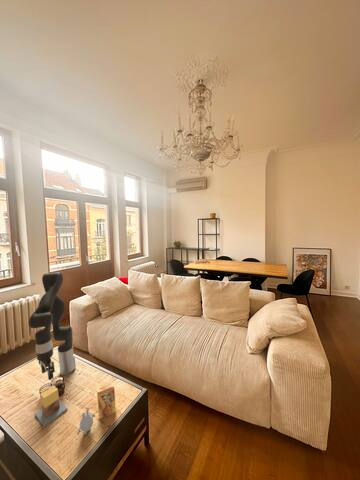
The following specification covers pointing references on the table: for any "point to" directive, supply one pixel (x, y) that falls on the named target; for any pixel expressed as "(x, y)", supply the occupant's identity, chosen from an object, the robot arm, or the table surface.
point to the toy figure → (86, 422)
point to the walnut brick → (50, 408)
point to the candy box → (106, 400)
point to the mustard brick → (49, 396)
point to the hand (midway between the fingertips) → (47, 375)
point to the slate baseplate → (52, 417)
